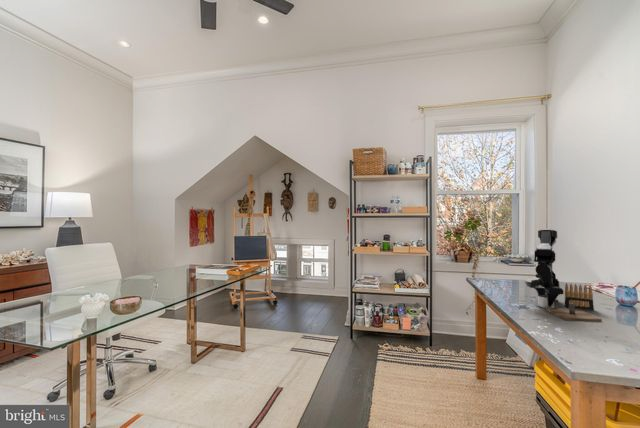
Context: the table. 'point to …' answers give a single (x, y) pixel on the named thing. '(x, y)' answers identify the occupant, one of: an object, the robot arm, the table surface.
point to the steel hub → (544, 301)
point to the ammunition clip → (577, 301)
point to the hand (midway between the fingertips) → (545, 303)
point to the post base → (573, 314)
